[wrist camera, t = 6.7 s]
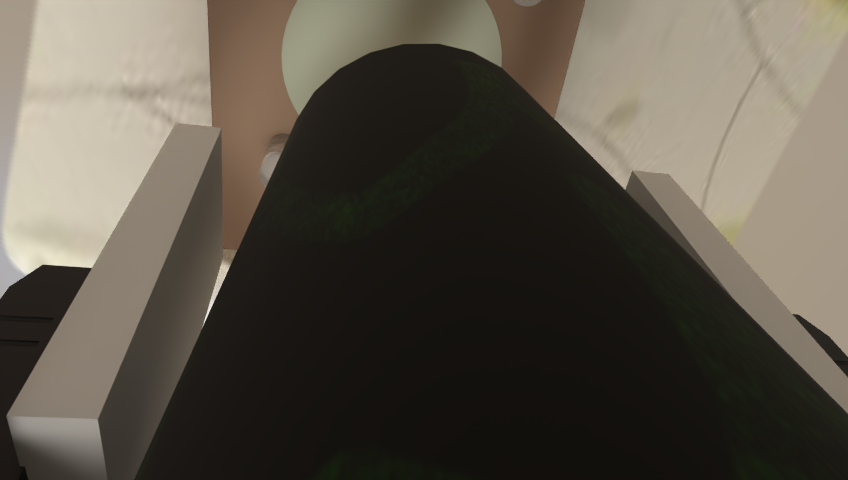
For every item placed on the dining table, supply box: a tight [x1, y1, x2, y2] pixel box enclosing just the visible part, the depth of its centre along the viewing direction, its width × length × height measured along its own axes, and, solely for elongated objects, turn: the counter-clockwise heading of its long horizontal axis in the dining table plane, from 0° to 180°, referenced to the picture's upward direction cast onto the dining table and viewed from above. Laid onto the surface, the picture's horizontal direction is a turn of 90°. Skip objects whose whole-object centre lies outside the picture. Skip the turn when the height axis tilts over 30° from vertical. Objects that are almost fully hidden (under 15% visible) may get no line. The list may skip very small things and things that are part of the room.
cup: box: [134, 44, 848, 480], centre depth 9 cm, size 8×8×12 cm
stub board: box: [207, 0, 585, 250], centre depth 27 cm, size 15×20×4 cm
